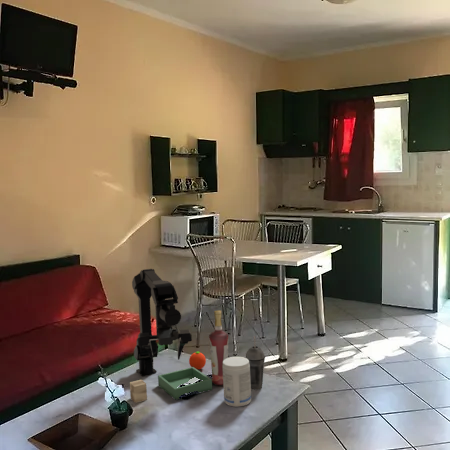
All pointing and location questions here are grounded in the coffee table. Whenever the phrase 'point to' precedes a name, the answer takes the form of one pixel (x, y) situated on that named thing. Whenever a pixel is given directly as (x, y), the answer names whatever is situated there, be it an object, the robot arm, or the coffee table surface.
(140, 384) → the beech block
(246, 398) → the supplement tub
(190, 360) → the clementine
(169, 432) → the coffee table surface
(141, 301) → the robot arm
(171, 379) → the green bin
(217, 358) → the liquor
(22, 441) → the coffee table surface
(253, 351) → the beverage cup
